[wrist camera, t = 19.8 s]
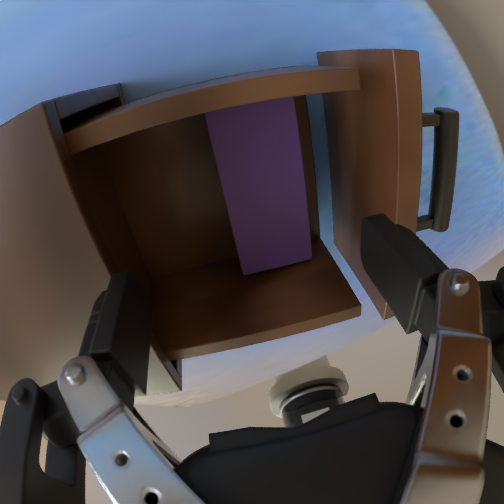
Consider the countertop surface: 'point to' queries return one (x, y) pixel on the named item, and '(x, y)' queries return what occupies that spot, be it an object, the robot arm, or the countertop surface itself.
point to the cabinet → (53, 247)
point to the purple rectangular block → (262, 182)
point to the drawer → (214, 208)
